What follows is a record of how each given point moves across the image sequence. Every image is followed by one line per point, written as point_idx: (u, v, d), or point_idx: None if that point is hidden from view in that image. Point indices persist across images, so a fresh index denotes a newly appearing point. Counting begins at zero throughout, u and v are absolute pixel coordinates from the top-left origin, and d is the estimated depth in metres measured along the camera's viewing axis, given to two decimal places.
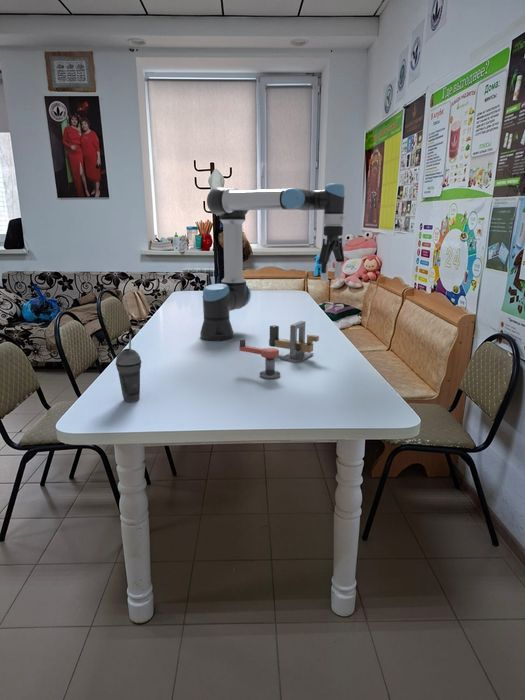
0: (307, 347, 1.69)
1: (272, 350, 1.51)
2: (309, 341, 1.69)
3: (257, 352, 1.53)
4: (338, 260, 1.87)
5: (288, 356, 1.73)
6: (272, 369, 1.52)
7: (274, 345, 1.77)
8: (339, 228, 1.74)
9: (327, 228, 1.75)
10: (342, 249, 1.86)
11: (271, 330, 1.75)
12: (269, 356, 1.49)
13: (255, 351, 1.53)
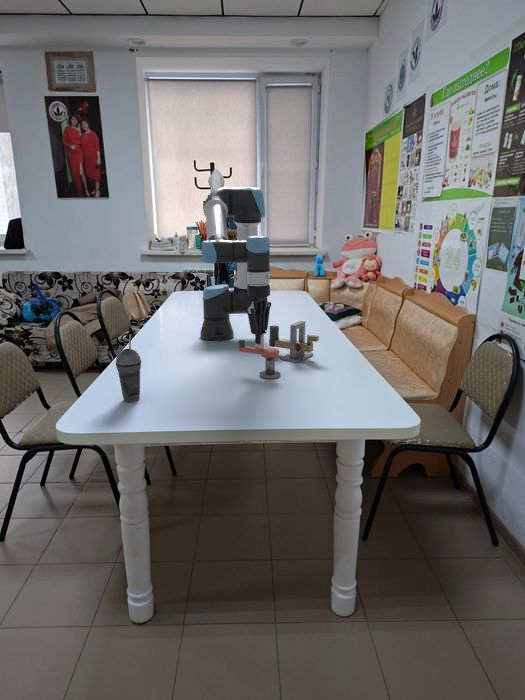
0: (307, 347, 1.69)
1: (272, 350, 1.51)
2: (309, 341, 1.69)
3: (257, 352, 1.53)
4: None
5: (288, 356, 1.73)
6: (272, 369, 1.52)
7: (274, 345, 1.77)
8: (265, 288, 1.45)
9: (250, 289, 1.46)
10: (268, 316, 1.54)
11: (271, 330, 1.75)
12: (269, 356, 1.49)
13: (255, 351, 1.53)
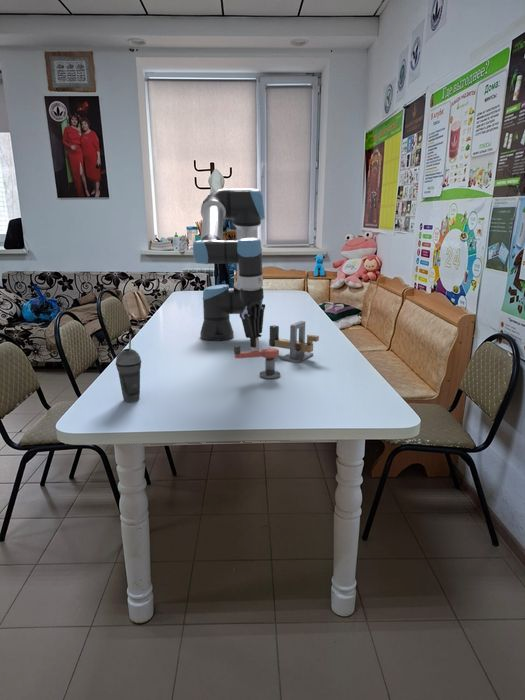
0: (307, 347, 1.69)
1: (271, 349, 1.52)
2: (309, 341, 1.69)
3: (257, 355, 1.50)
4: None
5: (288, 356, 1.73)
6: (272, 369, 1.52)
7: (274, 345, 1.77)
8: (258, 292, 1.42)
9: (243, 293, 1.42)
10: (262, 319, 1.51)
11: (271, 330, 1.75)
12: (276, 355, 1.49)
13: (255, 355, 1.49)
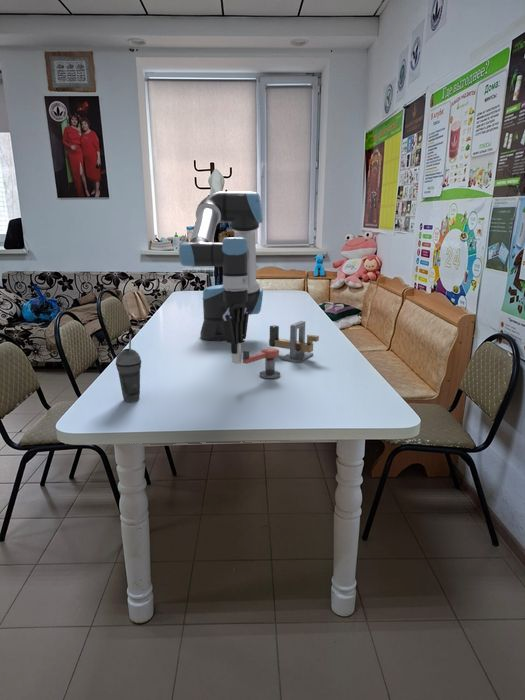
0: (307, 347, 1.69)
1: (270, 349, 1.52)
2: (309, 341, 1.69)
3: (262, 357, 1.48)
4: (237, 339, 1.42)
5: (288, 356, 1.73)
6: (272, 369, 1.52)
7: (274, 345, 1.77)
8: (242, 293, 1.35)
9: (226, 294, 1.35)
10: (246, 324, 1.43)
11: (271, 330, 1.75)
12: (278, 354, 1.51)
13: (261, 357, 1.47)
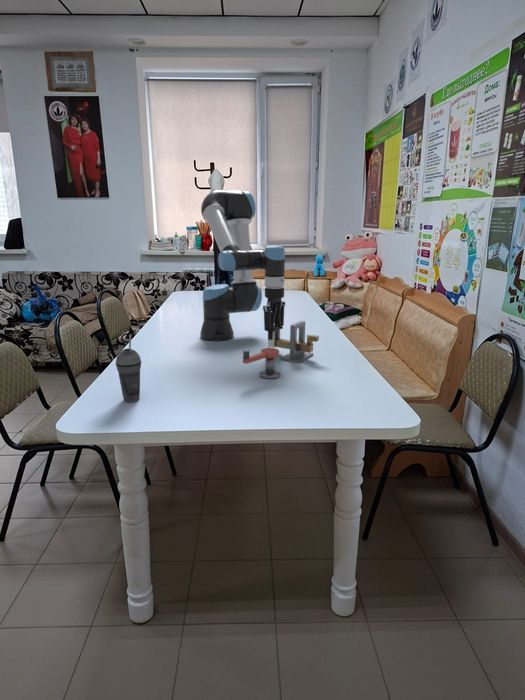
0: (307, 347, 1.69)
1: (270, 349, 1.52)
2: (309, 341, 1.69)
3: (262, 357, 1.48)
4: None
5: (288, 356, 1.73)
6: (272, 369, 1.52)
7: None
8: (280, 291, 1.70)
9: (267, 291, 1.70)
10: (283, 314, 1.79)
11: None
12: (278, 354, 1.51)
13: (261, 357, 1.47)
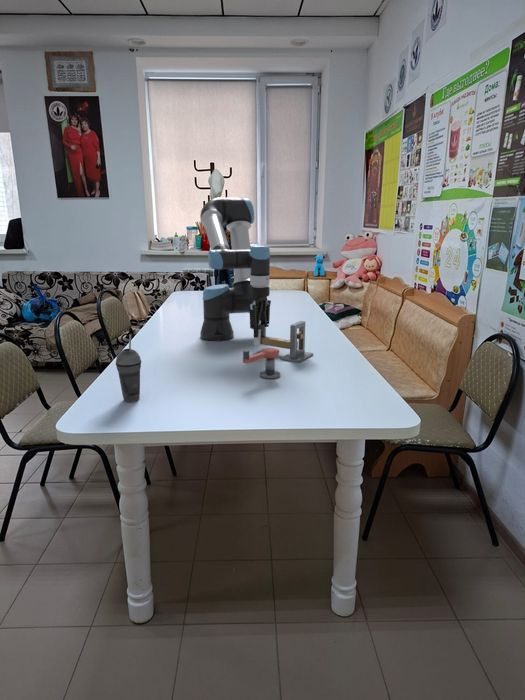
0: None
1: (270, 349, 1.52)
2: None
3: (262, 357, 1.48)
4: None
5: (288, 356, 1.73)
6: (272, 369, 1.52)
7: None
8: (265, 289, 1.73)
9: (253, 289, 1.73)
10: (269, 312, 1.83)
11: None
12: (278, 354, 1.51)
13: (261, 357, 1.47)
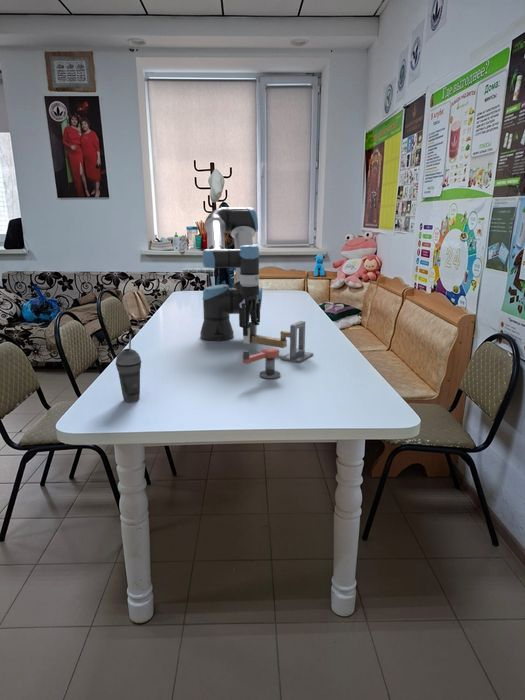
0: (281, 343, 1.75)
1: (270, 349, 1.52)
2: (282, 337, 1.74)
3: (262, 357, 1.48)
4: (253, 322, 1.85)
5: (288, 356, 1.73)
6: (272, 369, 1.52)
7: (250, 341, 1.83)
8: (254, 288, 1.75)
9: (242, 288, 1.76)
10: (259, 311, 1.85)
11: None
12: (278, 354, 1.51)
13: (261, 357, 1.47)
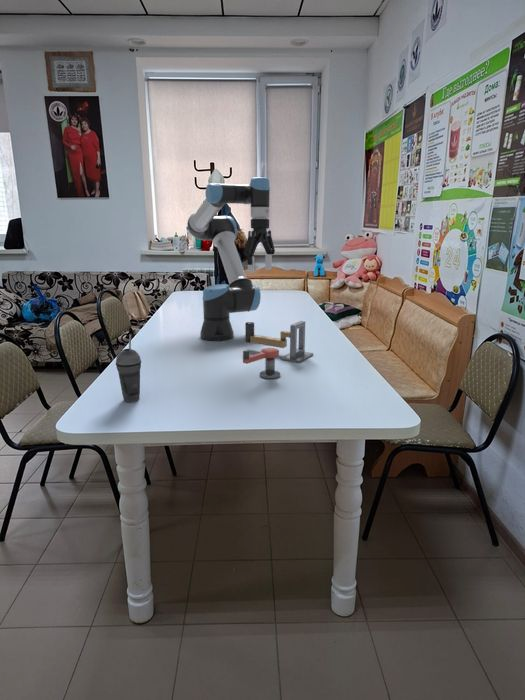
0: (281, 343, 1.75)
1: (270, 349, 1.52)
2: (282, 337, 1.74)
3: (262, 357, 1.48)
4: (268, 253, 1.91)
5: (288, 356, 1.73)
6: (272, 369, 1.52)
7: (250, 341, 1.83)
8: (265, 220, 1.78)
9: (253, 221, 1.79)
10: (272, 242, 1.89)
11: (247, 326, 1.81)
12: (278, 354, 1.51)
13: (261, 357, 1.47)
